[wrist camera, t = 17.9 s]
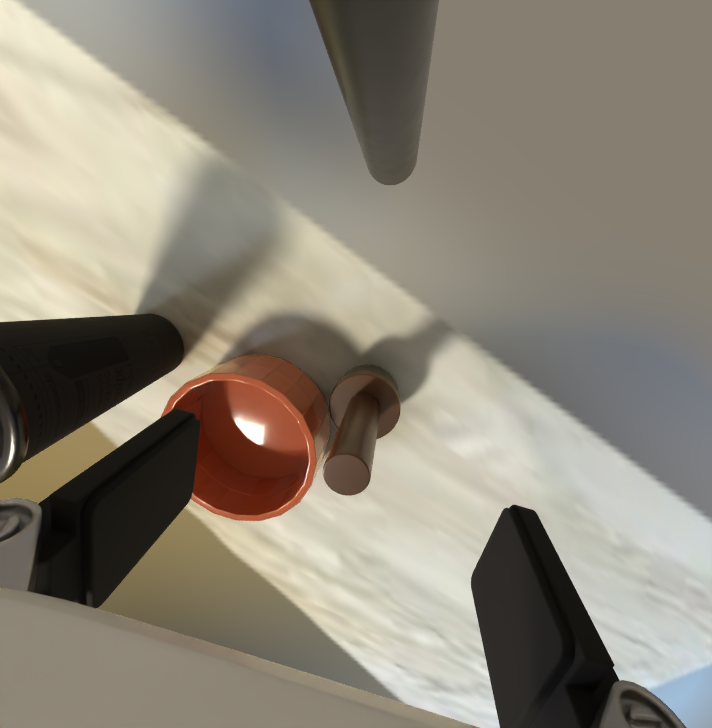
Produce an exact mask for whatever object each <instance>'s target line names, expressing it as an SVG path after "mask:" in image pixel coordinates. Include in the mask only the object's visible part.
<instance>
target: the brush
mask: <svg viewBox="0 0 712 728" xmlns="http://www.w3.org/2000/svg"><path fill="white" fill-rule="evenodd" d="M329 410H330V415H331V418H332V420H333V422H334V424H335V425H336V426H337V428H338V432H337V434H336V437H335V439H334V442H333V444H332V447H331V449H330V452H329V455H328V457H327V460H326V462H325V465H324V468H323V476H324V480H325V482H326V484H327V485H328V486H329V487H330V488H331V489H332V490H333V491H335V492H337V493H339V494H342V495H355V494H358V493H360V492H362V491H363V490H364V489H365V488H366V487H367V486H368V484H369V482H370V477H371V471H372V464H373V457H374V451H375V444H376V439H378V438H381V437H383V436H385V435H386V434H388V433H389V432H390V431H391V430H392V429H393V428H394V427H395V425H396V423H397V421H398V419H399V415H400V397H399V394H398V389H397V385H396V382H395V380H394V378H393V377H392V376H391V375H390V373H389V372H387V371H386V370H385V369H383V368H381V367H379V366H376V365H370V364H366V365H360V366H357V367H354V368H353V369H351V370H350V371H349V372H347V374H346V375H345V376H344V377H343V378H342V379H341V380H340V381H339V382H338V383H337V385H336V386H335V388H334V390H333V392H332V394H331V397H330V401H329Z"/></svg>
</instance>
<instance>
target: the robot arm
mask: <svg viewBox="0 0 712 728" xmlns="http://www.w3.org/2000/svg"><path fill="white" fill-rule="evenodd" d="M199 434H200V420H198V419H196V414H194V413H191V412H188V411H184V410H181V409H177V408H175V409H173V410H172V411H170V412H169V413H167V414H166V415H164V416H163V417H161V418H160V419H159V420H157V421H156V422H154V423H153V424H151V425H150V426H148V427H147V428H146V429H144V430H143V431H141V432H140V433H138V434H137V435H136V436H134V437H133V438H131V439H130V440H128V441H127V442H125V443H124V444H123V445H121V446H120V447H118V448H117V449H115V450H114V451H112V452H111V453H110V454H108V455H107V456H105V457H104V458H102V459H101V460H100V461H98V462H97V463H95V464H94V465H92V466H91V467H89V468H88V469H87V470H85V471H84V472H82V473H81V474H80V475H78V476H77V477H75V478H74V479H72V480H71V481H69V482H68V483H66V484H65V485H63V486H62V487H61V488H59V489H58V490H56V491H55V492H54V493H52V494H51V495H50V496H49V497H47V498H46V499H44V500H43V501H42V502H40V503H39V504H37V503H36V502H33V501H31V500H28V499H21V498H11V499H1V500H0V728H479V727H476V726H473V725H469V724H466V723H463V722H460V721H457V720H454V719H451V718H448V717H444V716H441V715H438V714H435V713H432V712H429V711H426V710H423V709H420V708H416V707H413V706H410V705H407V704H404V703H401V702H398V701H395V700H391V699H388V698H385V697H382V696H379V695H375V694H373V693H370V692H366V691H363V690H360V689H357V688H354V687H350V686H347V685H344V684H341V683H338V682H335V681H331V680H328V679H325V678H322V677H319V676H315V675H312V674H309V673H306V672H303V671H299V670H296V669H293V668H290V667H287V666H283V665H280V664H277V663H274V662H271V661H268V660H264V659H261V658H258V657H255V656H252V655H248V654H245V653H242V652H239V651H235V650H232V649H229V648H226V647H222V646H219V645H216V644H212V643H209V642H206V641H203V640H199V639H196V638H193V637H190V636H186V635H183V634H180V633H177V632H173V631H170V630H167V629H164V628H160V627H157V626H154V625H151V624H147V623H144V622H141V621H138V620H134V619H130V618H127V617H124V616H120V615H117V614H113V613H110V612H106V611H103V610H99V609H96V608H98V607H99V606H101V605H102V603H104V601H105V600H106V599H107V598H108V597H109V596H110V594H111V593H112V592H113V591H114V590H115V588H116V587H117V586H118V585H119V584H120V583H121V581H122V580H123V579H124V578H125V577H126V575H127V574H128V573H129V572H130V571H131V570H132V568H133V567H134V566H135V565H136V564H137V563H138V561H139V560H140V559H141V558H142V557H143V556H144V554H145V553H146V552H147V551H148V550H149V548H150V547H151V546H152V545H153V544H154V542H155V541H156V540H157V539H158V538H159V536H160V535H161V534H162V533H163V532H164V531H165V529H166V528H167V527H168V526H169V525H170V524H171V522H172V521H173V520H174V519H175V518H176V517H177V515H178V514H179V513H180V512H181V511H182V510H183V508H184V507H185V506H186V505H187V504H188V502H189V501H190V499H191V497H192V494H193V490H194V481H195V471H196V462H197V452H198V443H199ZM471 588H472V593H473V598H474V603H475V608H476V613H477V617H478V622H479V627H480V632H481V637H482V642H483V647H484V651H485V656H486V661H487V666H488V671H489V676H490V681H491V685H492V690H493V695H494V700H495V705H496V710H497V714H498V719H499V724H500V728H686V726H685V725H684V724H683V723H682V722H681V720H680V719H679V718H678V717H677V716H676V714H675V713H674V712H673V711H672V710H671V709H670V708H669V707H668V706H667V705H666V704H664V703H663V702H662V701H661V700H660V699H659V698H658V697H657V696H655V695H654V694H652V693H651V692H650V691H648V690H647V689H646V688H644V687H642V686H640V685H638V684H636V683H634V682H629V681H625V680H622V681H619V679H618V677H617V675H616V673H615V671H614V669H613V667H614V663H613V661H612V659H611V657H610V655H609V654H608V652H607V650H606V648H605V646H604V644H603V642H602V640H601V638H600V636H599V634H598V632H597V630H596V628H595V626H594V624H593V622H592V620H591V618H590V616H589V615H588V613H587V611H586V609H585V607H584V605H583V603H582V601H581V599H580V597H579V595H578V593H577V591H576V589H575V587H574V585H573V583H572V581H571V579H570V577H569V576H568V574H567V572H566V570H565V568H564V566H563V564H562V562H561V560H560V558H559V556H558V554H557V552H556V550H555V548H554V546H553V544H552V542H551V540H550V538H549V537H548V535H547V533H546V531H545V529H544V527H543V525H542V523H541V521H540V519H539V517H538V515H537V513H536V512H535V511H534V510H531V509H528V508H524V507H521V506H517V505H512V506H511V507H510V508H505V509H504V510H503V511H502V513H501V515H500V518H499V520H498V522H497V524H496V526H495V528H494V530H493V532H492V534H491V536H490V538H489V540H488V542H487V544H486V547H485V549H484V551H483V553H482V555H481V557H480V559H479V561H478V563H477V565H476V567H475V569H474V571H473V574H472V578H471Z"/></svg>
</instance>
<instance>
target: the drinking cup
mask: <svg viewBox="0 0 712 728" xmlns="http://www.w3.org/2000/svg"><path fill="white" fill-rule="evenodd" d="M182 356H183V343H182V339H181V336H180V334H179V332H178V331H177V329H176V328H175V327H174V326H173V325H172V324H171V323H170V322H169V321H168V320H166V319H165V318H163V317H161V316H158V315H154V314H140V315H122V316H104V317H86V318H68V319H50V320H32V321H14V322H0V483H2V482H3V481H5V480H7V479H8V478H9V477H11V476H12V475H13V474H14V473H15V472H16V471H17V470H18V468H19V467H20V466H21V464H22V463H23V462H25V461H26V460H28V459H30V458H31V457H33V456H35V455H36V454H38V453H39V452H41V451H43V450H44V449H46V448H48V447H49V446H51V445H52V444H54V443H56V442H57V441H59V440H60V439H62V438H64V437H65V436H67V435H69V434H70V433H72V432H73V431H75V430H77V429H78V428H80V427H81V426H83V425H85V424H86V423H88V422H90V421H91V420H93V419H95V418H96V417H98V416H99V415H101V414H103V413H104V412H106V411H108V410H109V409H111V408H112V407H114V406H116V405H117V404H119V403H121V402H122V401H124V400H125V399H127V398H129V397H130V396H132V395H133V394H135V393H137V392H138V391H140V390H142V389H143V388H145V387H146V386H148V385H150V384H151V383H153V382H155V381H156V380H158V379H159V378H161V377H163V376H164V375H166V374H168V373H169V372H171V371H172V370H174V369H175V368H176V367H177V366H178V365H179V363H180V362H181V359H182Z"/></svg>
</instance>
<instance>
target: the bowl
mask: <svg viewBox="0 0 712 728" xmlns="http://www.w3.org/2000/svg"><path fill="white" fill-rule="evenodd" d="M175 408H177V409H181V410H184V411H188V412H191V413H194V414H196V419H198V420H200V434H199V443H198V452H197V462H196V471H195V481H194V490H193V494H192V497H191V499H192V500H193V501H194V502H196V503H198V504H199V505H201V506H202V507H204V508H206V509H207V510H209V511H211V512H212V513H214V514H218V515H221V516H224V517H227V518H231V519H234V520H242V521H261V520H265V519H269V518H272V517H276V516H280V515H282V514H283V513H285V512H286V511H288V510H289V509H291V508H292V507H294V506H295V505H297V504H298V503H299V502H300V501H301V499H302V498H303V497H304V495H305V494H306V492H307V491H308V489H309V488H310V487H311V485H312V482H313V480H314V478H315V475H316V473H317V470H318V468H319V466H320V463H321V461H322V458H323V456H324V453H325V451H326V447H327V444H328V441H329V436H330V424H331V423H330V414H329V410H328V406H327V404H326V401H325V399H324V397H323V395H322V393H321V391H320V390H319V388H318V387H317V385H316V384H315V383H314V382H313V380H312V379H311V378H310V377H309V376H308V375H307V374H305V373H304V372H303V371H302V370H301V369H299V368H298V367H296V366H295V365H293V364H291V363H289V362H287V361H285V360H283V359H280V358H277V357H273V356H268V355H259V354H254V355H245V356H239V357H237V358H234V359H231V360H229V361H227V362H224V363H222V364H220V365H218V366H216V367H214V368H212V369H211V370H209V371H207V372H205V373H203V374H201V375H199V376H198V377H196V378H194V379H192V380H190V381H188V382H187V383H185V384H184V385H183V386H182V387H181V388H180V389H179V390H178V391H177V392H176V393H175V394H173V395H172V396H171V398H170V399H169V401H168V403H167V405H166V407H165V409H164V412H163V414H162V416H161V417H163V416H164V415H166V414H167V413H169V412H170V411H172V410H173V409H175Z"/></svg>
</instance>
